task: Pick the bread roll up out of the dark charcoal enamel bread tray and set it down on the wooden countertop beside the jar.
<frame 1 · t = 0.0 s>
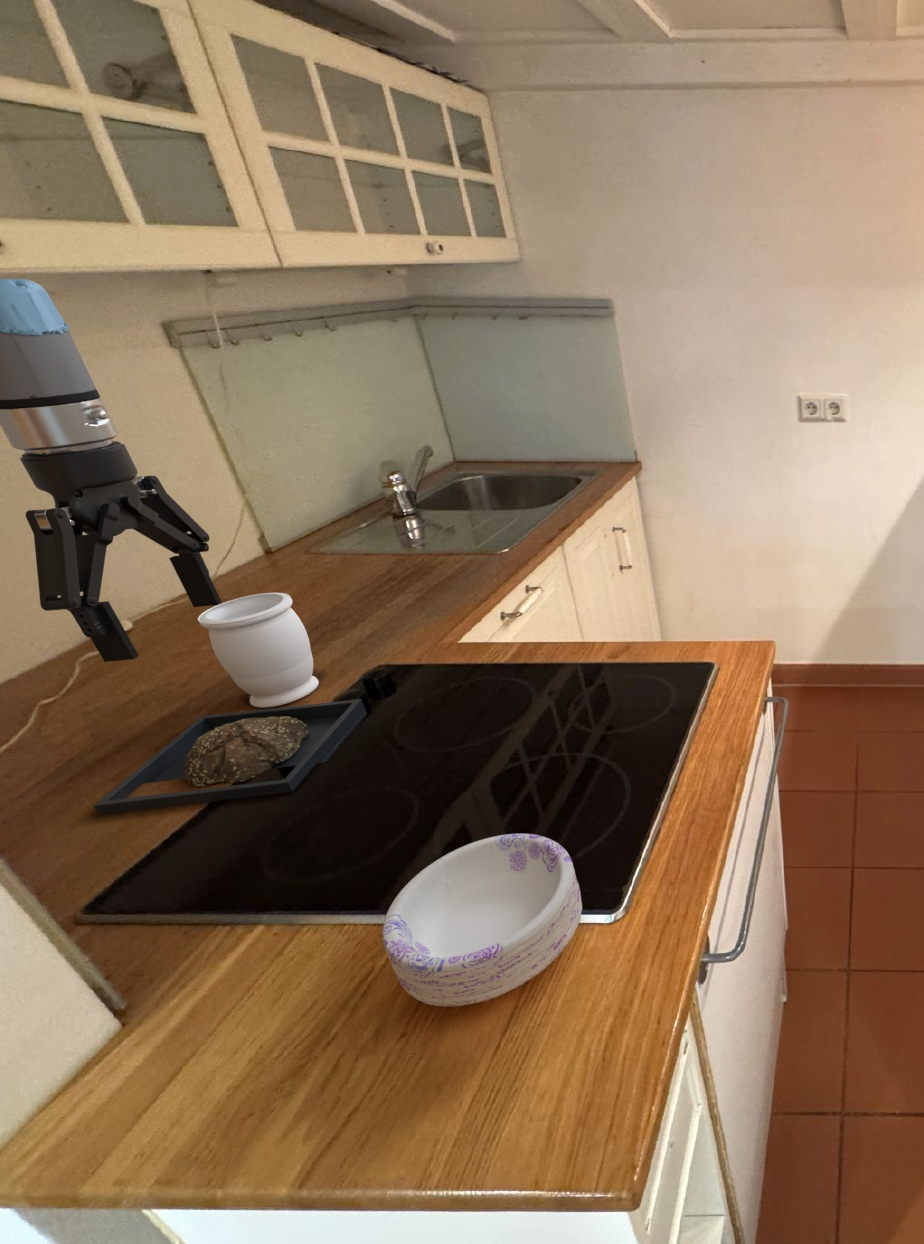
hand: (168, 630, 80), 21 cm above the worktop, tool pointing down, fingers open, 13 cm apart
bread roll: (248, 760, 91), resting on bread tray
paper bowls: (503, 953, 65), on the worktop
bread tray: (249, 762, 92), on the worktop
jar: (286, 694, 107), on the worktop
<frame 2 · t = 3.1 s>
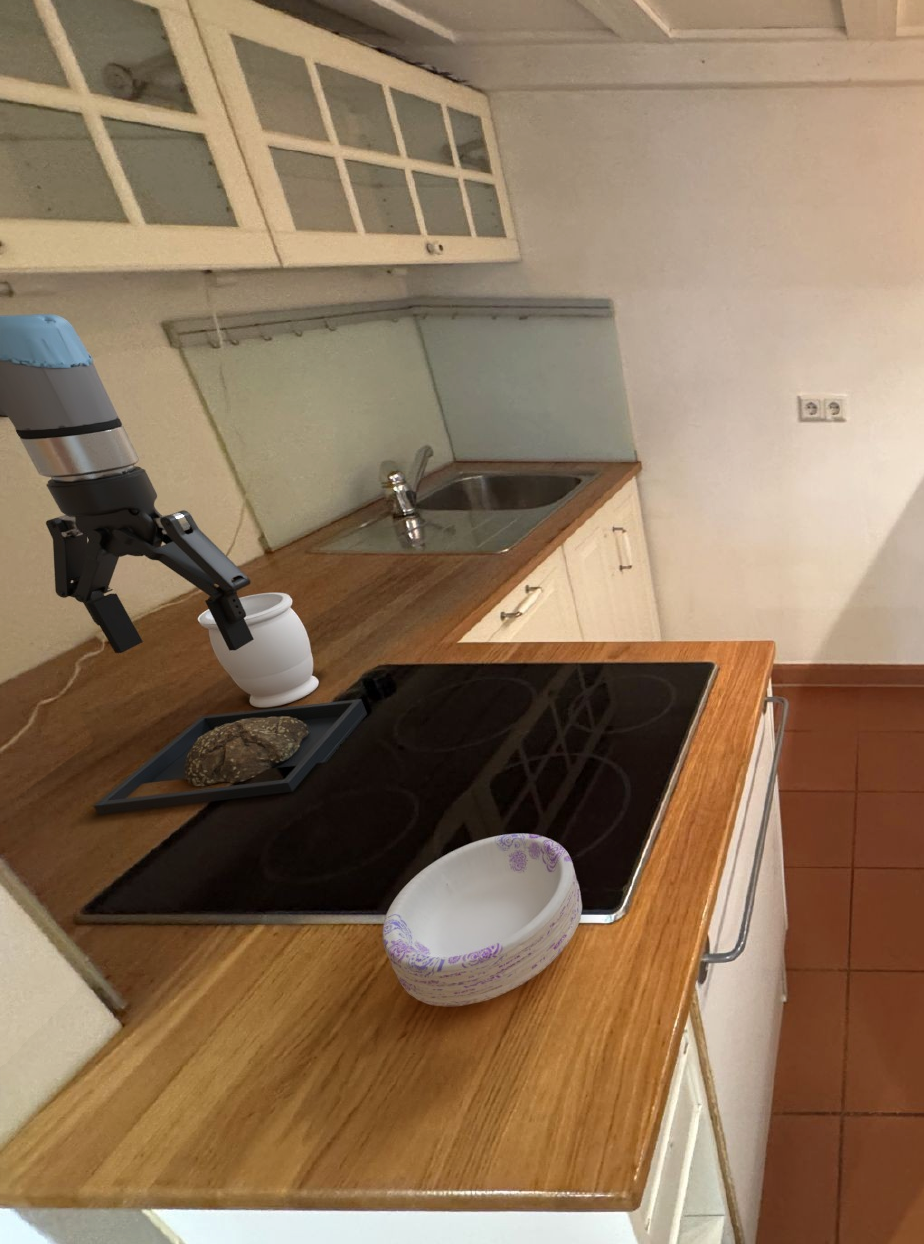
hand: (185, 646, 83), 18 cm above the worktop, tool pointing down, fingers open, 13 cm apart
nothing on the worktop moved.
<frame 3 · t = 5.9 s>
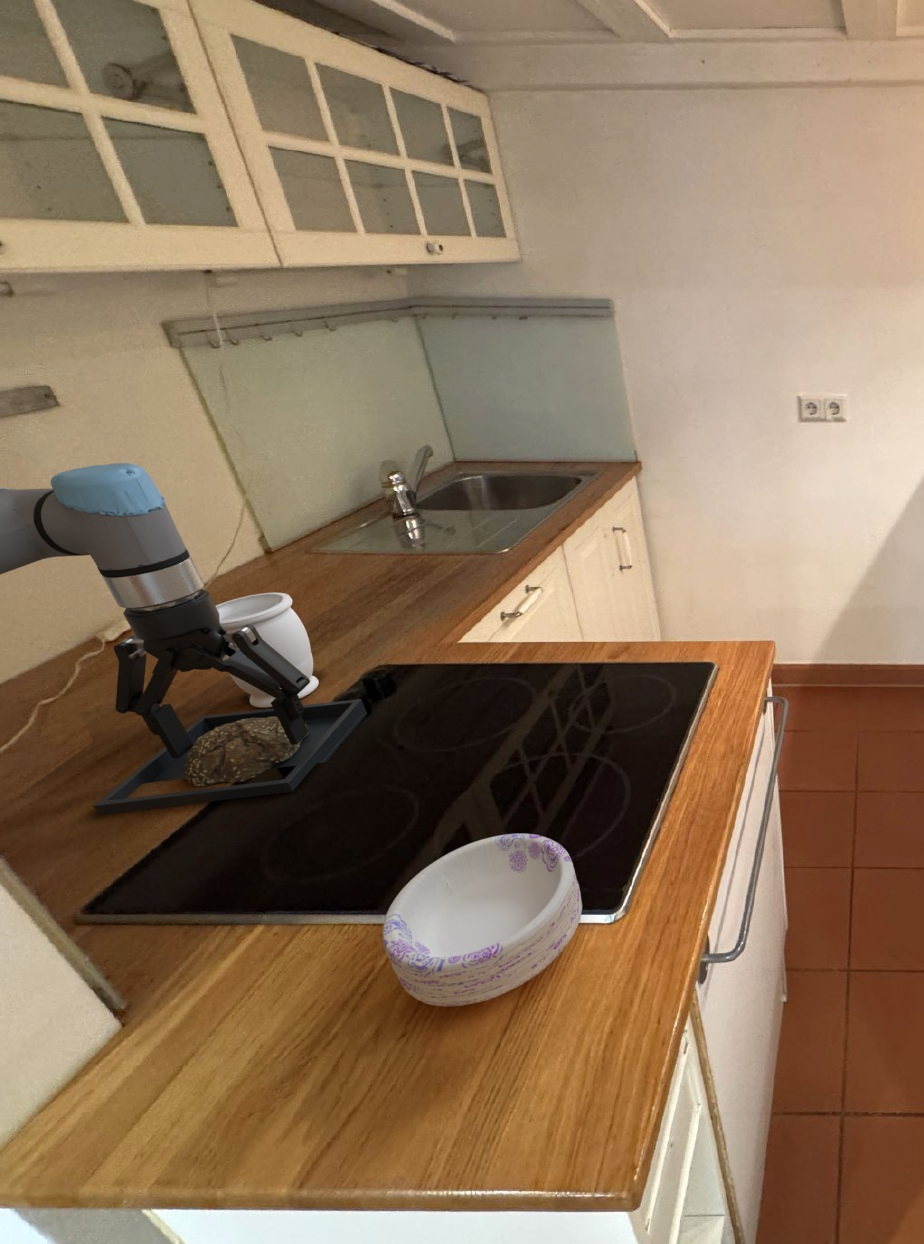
hand: (242, 745, 90), 3 cm above the worktop, tool pointing down, fingers open, 13 cm apart
bread roll: (248, 760, 91), resting on bread tray, touching gripper
everything else where it was.
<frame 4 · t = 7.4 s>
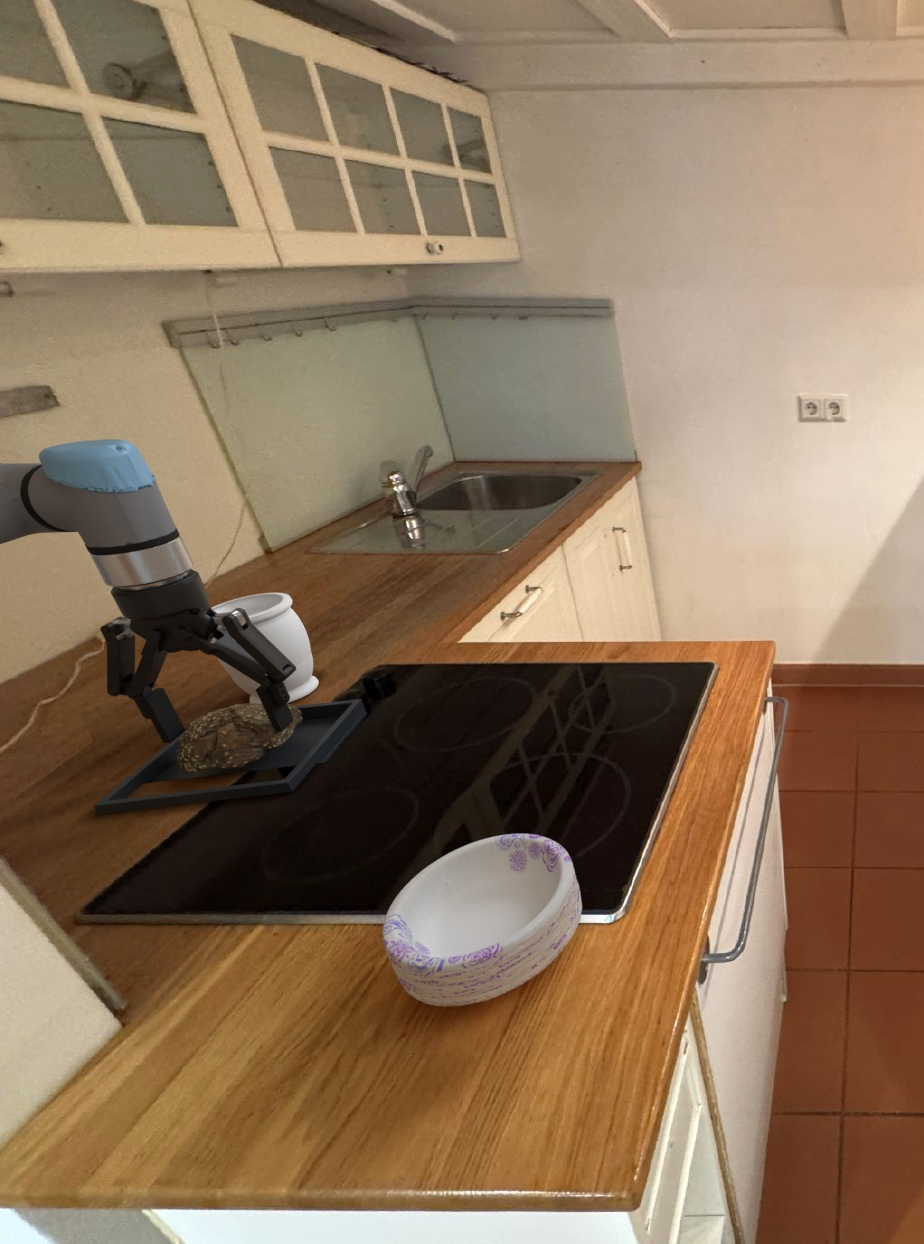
hand: (230, 731, 89), 5 cm above the worktop, tool pointing down, fingers closed on bread roll, 12 cm apart
bread roll: (241, 745, 91), point 3 cm above the worktop, touching gripper
everything else where it was.
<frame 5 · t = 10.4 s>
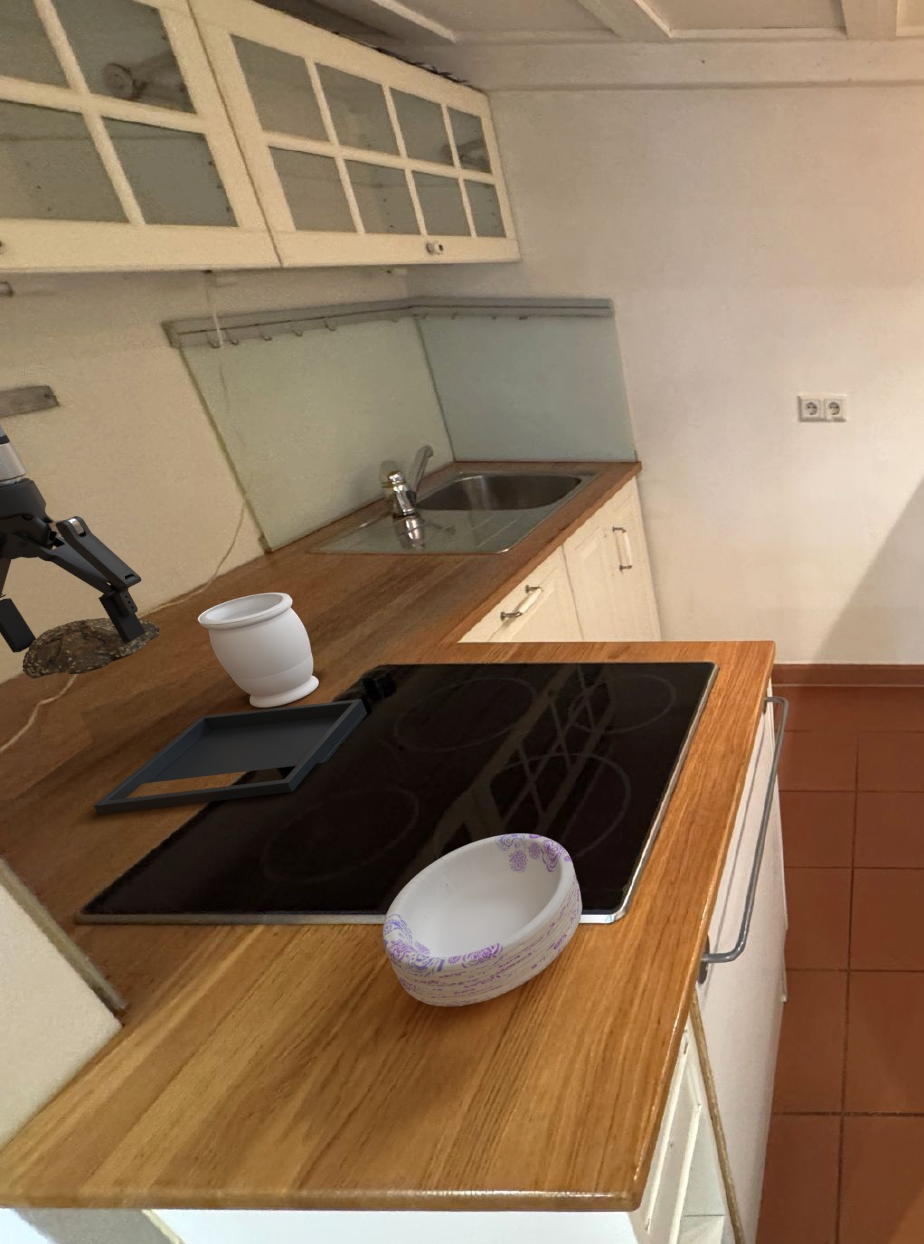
hand: (81, 642, 92), 15 cm above the worktop, tool pointing down, fingers closed on bread roll, 12 cm apart
bread roll: (93, 656, 93), point 12 cm above the worktop, touching gripper
everything else where it was.
when the fingers open (2 cm above the worktop, at t = 13.4 s): bread roll stays where it is, on the worktop.
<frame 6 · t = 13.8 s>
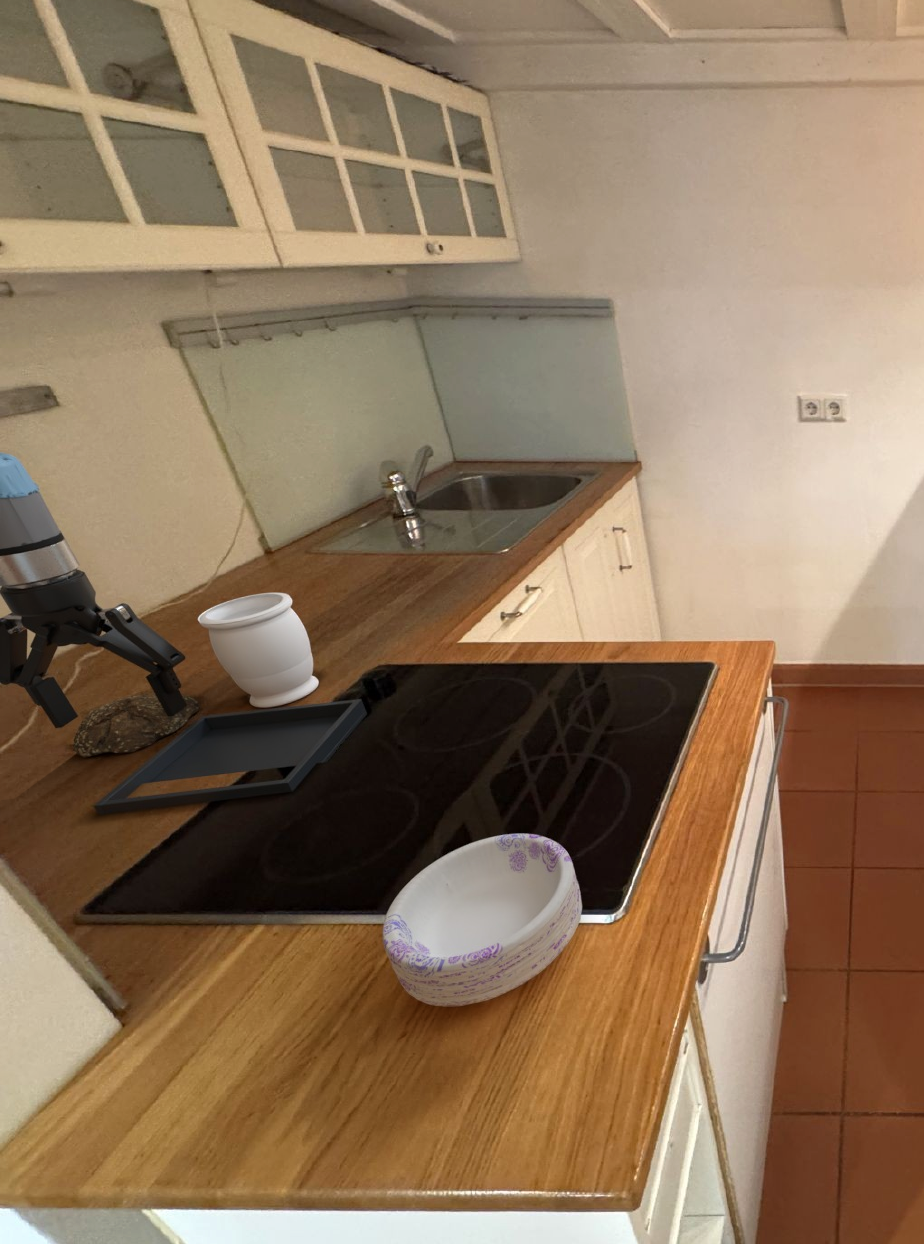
hand: (123, 716, 97), 3 cm above the worktop, tool pointing down, fingers open, 13 cm apart
bread roll: (138, 733, 99), on the worktop
everything else where it was.
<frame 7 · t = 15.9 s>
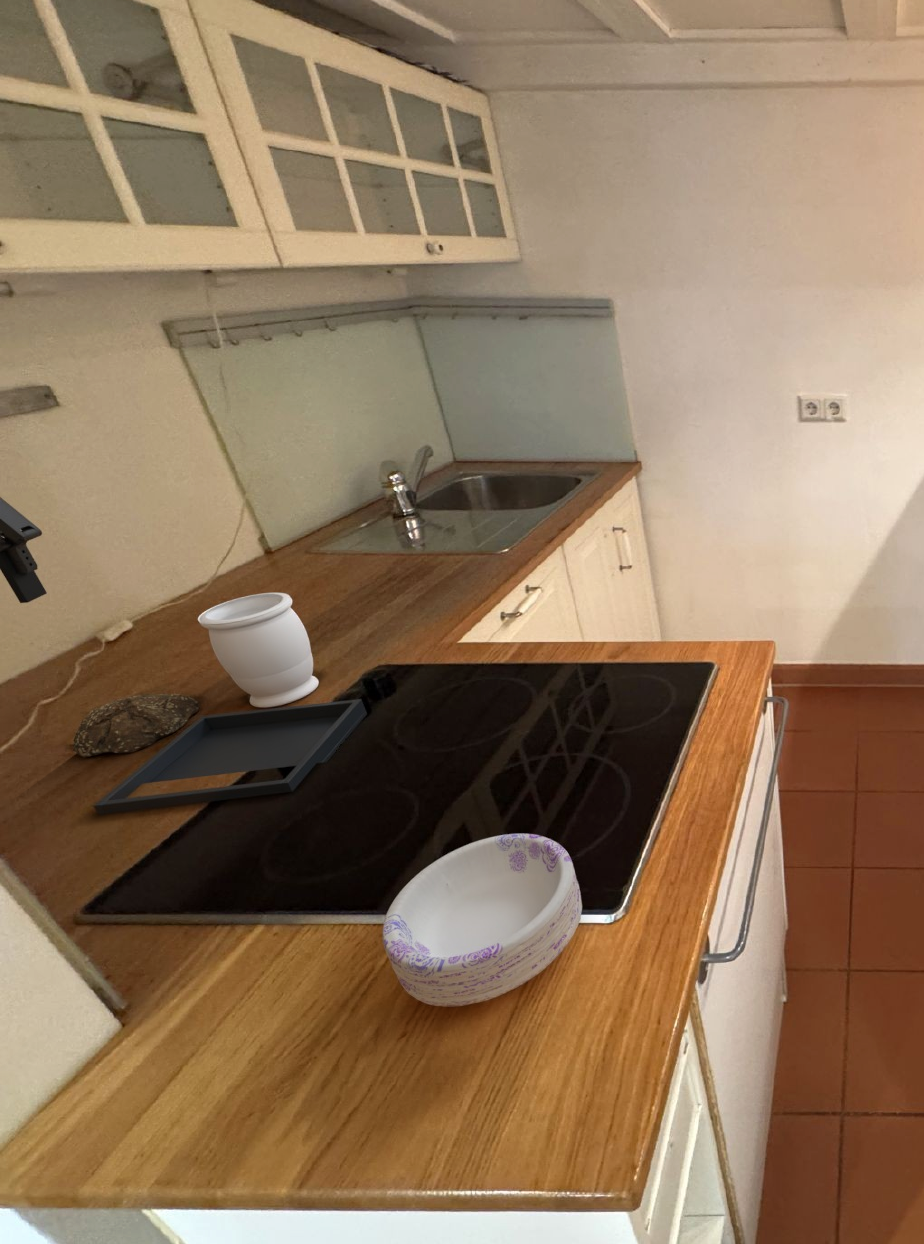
nothing on the worktop moved.
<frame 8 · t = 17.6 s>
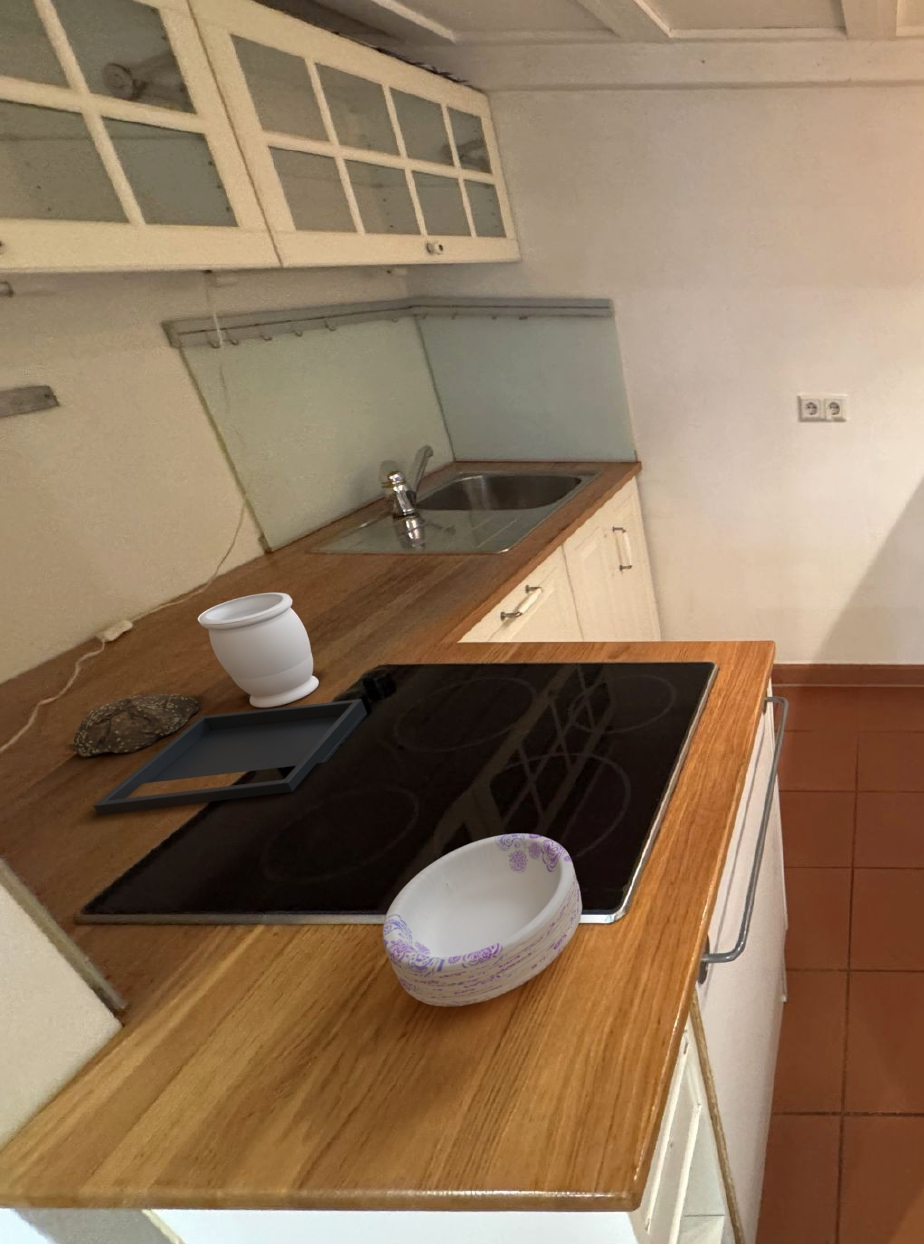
nothing on the worktop moved.
at the end: bread roll inside the target area (0.4 cm from its centre), on the worktop; bread roll touching worktop; the gripper is holding nothing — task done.
